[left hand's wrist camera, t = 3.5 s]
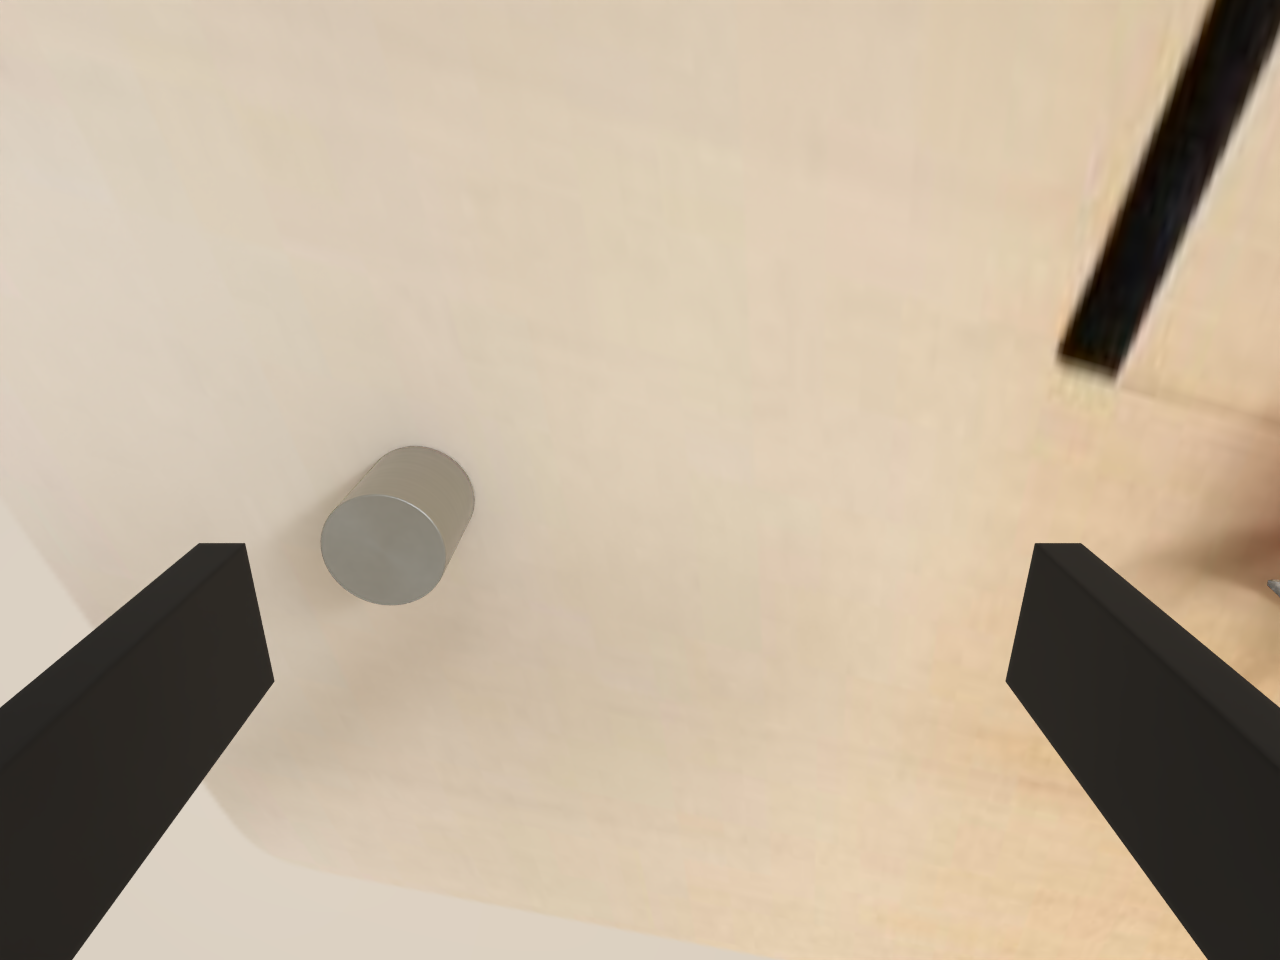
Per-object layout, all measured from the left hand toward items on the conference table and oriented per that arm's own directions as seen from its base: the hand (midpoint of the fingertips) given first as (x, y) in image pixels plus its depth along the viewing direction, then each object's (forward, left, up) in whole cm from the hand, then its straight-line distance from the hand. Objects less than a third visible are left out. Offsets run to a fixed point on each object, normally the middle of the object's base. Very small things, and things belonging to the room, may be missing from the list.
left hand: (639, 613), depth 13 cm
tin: (-2, -9, -16) cm, 18 cm away
